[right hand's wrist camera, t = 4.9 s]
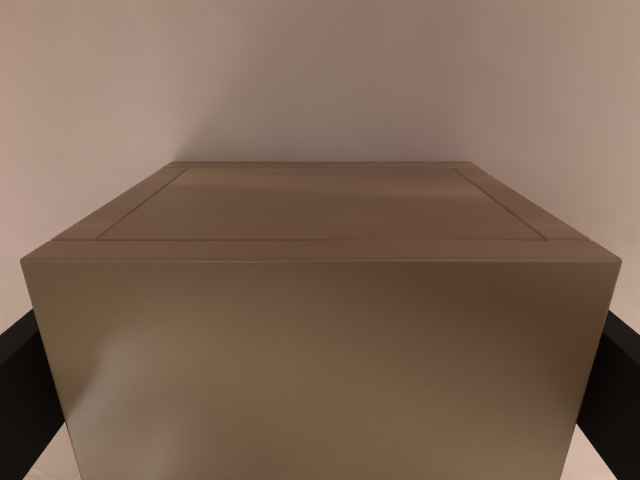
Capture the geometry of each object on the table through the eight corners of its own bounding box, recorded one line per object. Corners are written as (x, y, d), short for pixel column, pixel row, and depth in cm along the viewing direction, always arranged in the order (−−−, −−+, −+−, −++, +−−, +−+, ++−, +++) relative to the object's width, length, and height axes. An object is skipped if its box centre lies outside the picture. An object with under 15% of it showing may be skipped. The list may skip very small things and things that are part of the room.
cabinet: (429, 477, 23) (493, 716, 14) (211, 477, 23) (147, 716, 14) (470, 161, 17) (625, 258, 8) (170, 162, 17) (16, 258, 8)
